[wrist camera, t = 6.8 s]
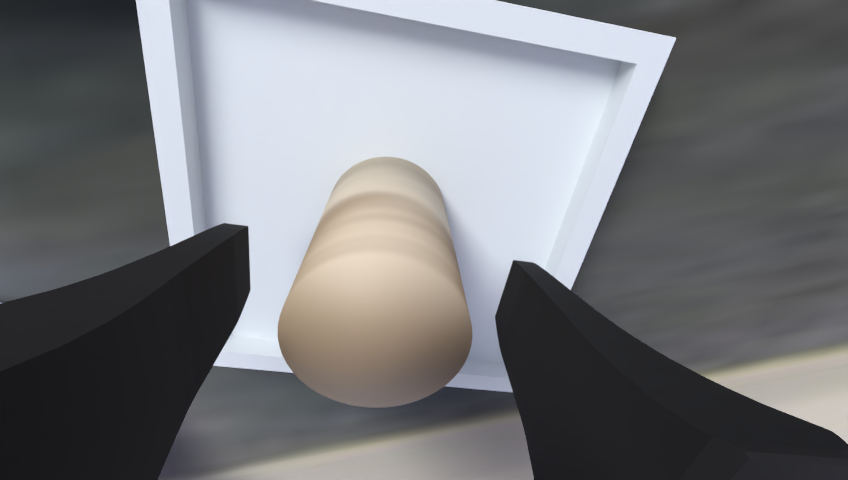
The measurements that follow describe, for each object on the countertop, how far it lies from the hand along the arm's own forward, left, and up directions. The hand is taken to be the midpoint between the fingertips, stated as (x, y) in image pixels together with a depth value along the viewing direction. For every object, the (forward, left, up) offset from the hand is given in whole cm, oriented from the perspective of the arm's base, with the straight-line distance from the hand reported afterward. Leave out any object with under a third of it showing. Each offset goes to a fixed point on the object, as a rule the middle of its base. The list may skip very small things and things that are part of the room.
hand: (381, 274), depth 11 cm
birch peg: (0, 0, -4) cm, 4 cm away
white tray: (0, 0, -4) cm, 4 cm away
